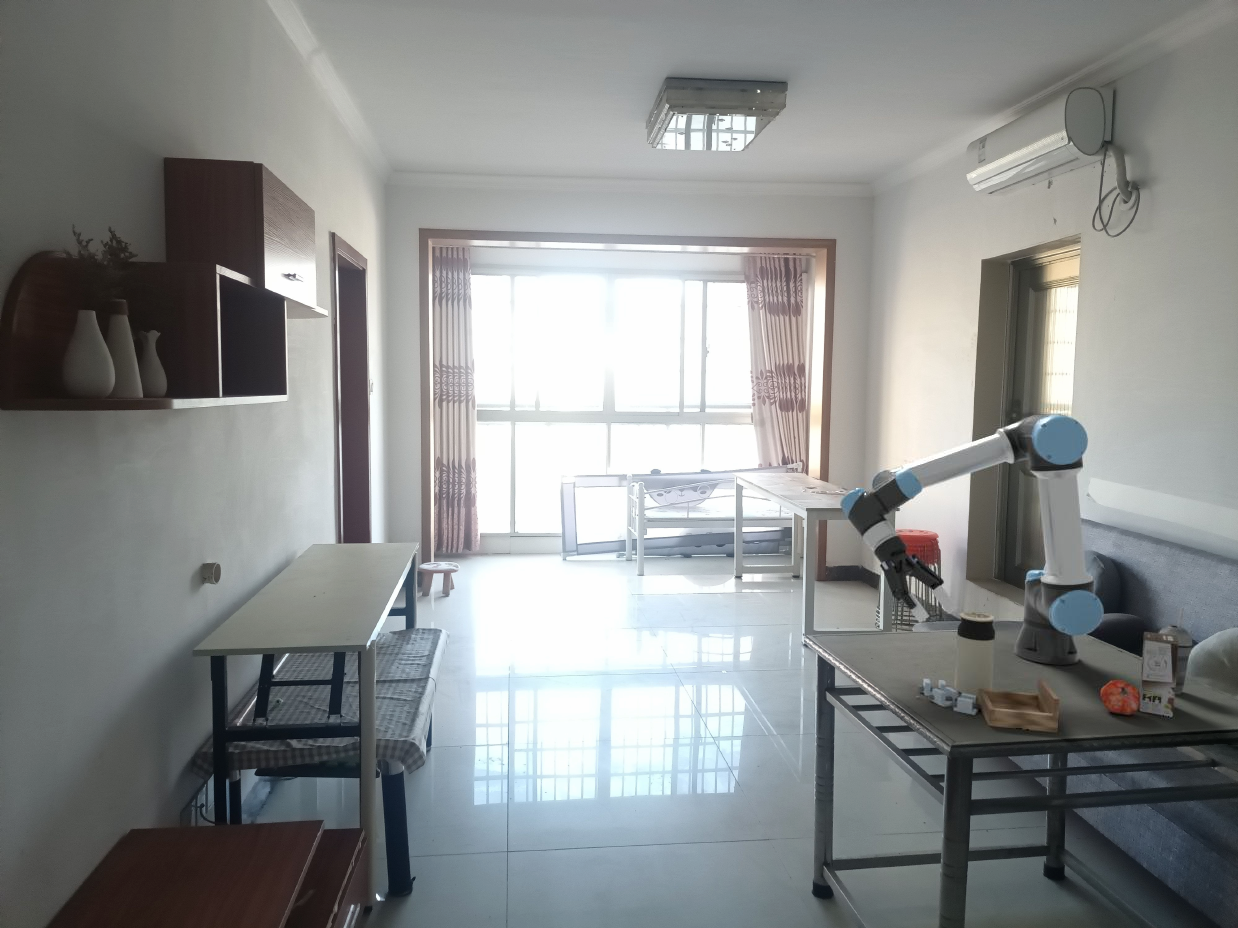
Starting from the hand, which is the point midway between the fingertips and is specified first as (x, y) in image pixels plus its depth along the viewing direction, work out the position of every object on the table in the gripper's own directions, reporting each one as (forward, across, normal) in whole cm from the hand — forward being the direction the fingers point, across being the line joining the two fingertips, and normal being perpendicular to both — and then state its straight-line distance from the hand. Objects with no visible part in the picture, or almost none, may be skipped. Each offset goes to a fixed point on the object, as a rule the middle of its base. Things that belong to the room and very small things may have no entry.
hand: (939, 615), depth 200 cm
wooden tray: (+27, +8, +4) cm, 29 cm away
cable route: (+18, +11, -5) cm, 21 cm away
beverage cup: (+38, -39, +16) cm, 57 cm away
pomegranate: (+37, -13, +14) cm, 41 cm away
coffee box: (+40, -23, +17) cm, 49 cm away
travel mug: (+18, -1, -5) cm, 19 cm away
